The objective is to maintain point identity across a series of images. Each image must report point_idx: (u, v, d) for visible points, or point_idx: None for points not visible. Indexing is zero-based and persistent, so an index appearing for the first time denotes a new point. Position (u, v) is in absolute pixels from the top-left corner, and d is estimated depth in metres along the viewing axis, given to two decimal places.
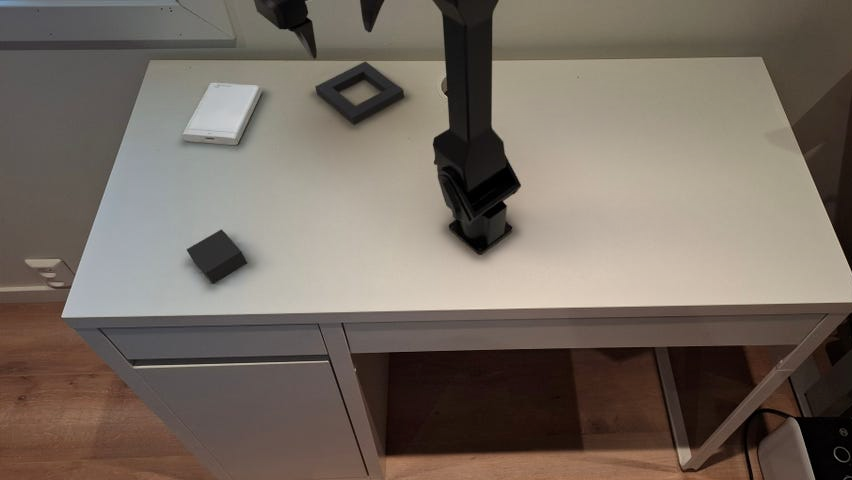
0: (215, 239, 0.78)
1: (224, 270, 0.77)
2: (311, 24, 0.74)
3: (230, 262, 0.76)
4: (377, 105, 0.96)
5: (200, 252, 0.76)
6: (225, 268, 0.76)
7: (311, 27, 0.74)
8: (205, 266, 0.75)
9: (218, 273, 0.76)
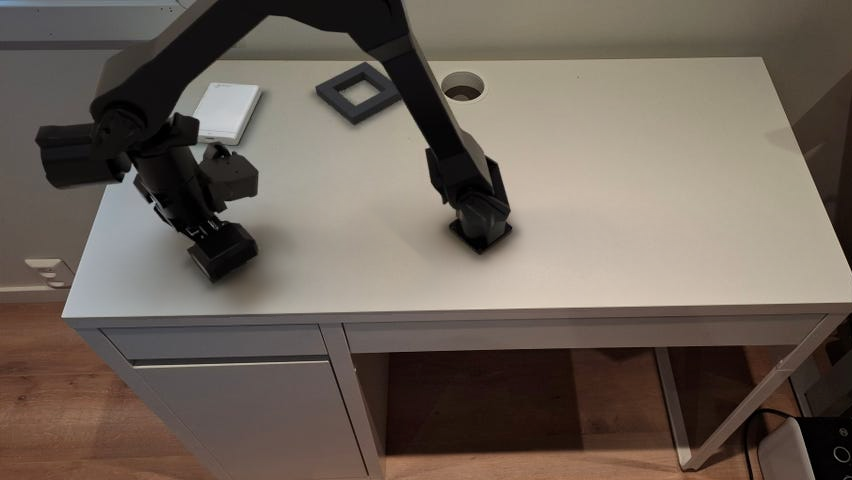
0: None
1: None
2: (164, 221, 0.73)
3: None
4: (377, 105, 0.96)
5: None
6: None
7: (167, 223, 0.73)
8: None
9: None
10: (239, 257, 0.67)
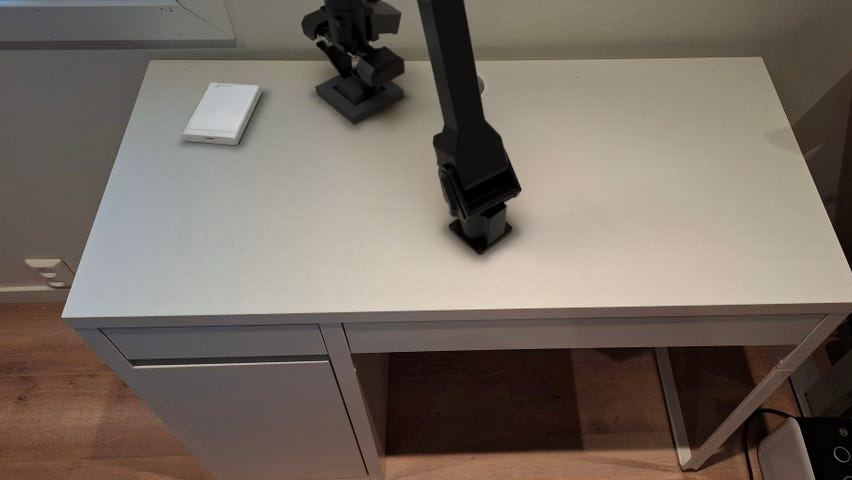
0: None
1: (366, 99, 0.97)
2: (325, 53, 0.93)
3: None
4: (377, 105, 0.96)
5: (348, 84, 0.97)
6: None
7: (327, 56, 0.93)
8: (353, 93, 0.95)
9: (362, 101, 0.96)
10: (393, 71, 0.87)
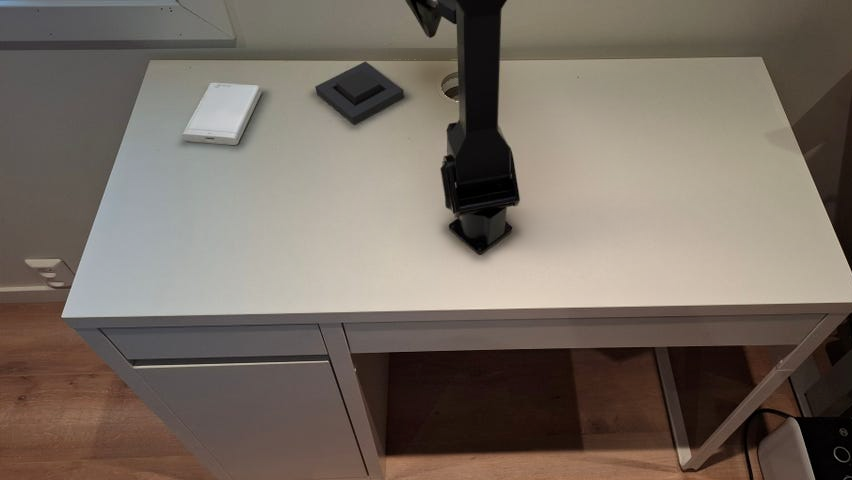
0: (357, 76, 0.98)
1: (366, 99, 0.97)
2: None
3: (371, 92, 0.97)
4: (377, 105, 0.96)
5: (348, 84, 0.97)
6: (367, 97, 0.97)
7: (410, 2, 0.85)
8: (353, 93, 0.95)
9: (361, 100, 0.96)
10: None
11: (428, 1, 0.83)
